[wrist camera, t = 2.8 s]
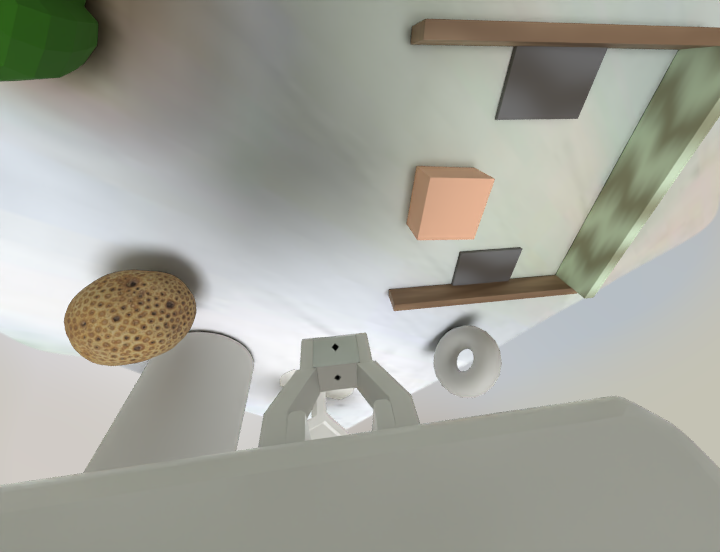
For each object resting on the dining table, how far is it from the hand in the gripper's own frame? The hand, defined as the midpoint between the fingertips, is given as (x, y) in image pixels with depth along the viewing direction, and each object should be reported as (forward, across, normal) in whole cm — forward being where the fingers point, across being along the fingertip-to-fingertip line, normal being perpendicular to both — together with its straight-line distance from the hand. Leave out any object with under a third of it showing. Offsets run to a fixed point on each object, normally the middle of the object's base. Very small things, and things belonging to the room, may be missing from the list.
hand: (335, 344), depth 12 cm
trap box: (+18, -20, 0) cm, 27 cm away
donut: (+18, -18, +22) cm, 33 cm away
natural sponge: (+18, +18, +8) cm, 27 cm away
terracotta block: (+18, -12, 0) cm, 21 cm away
